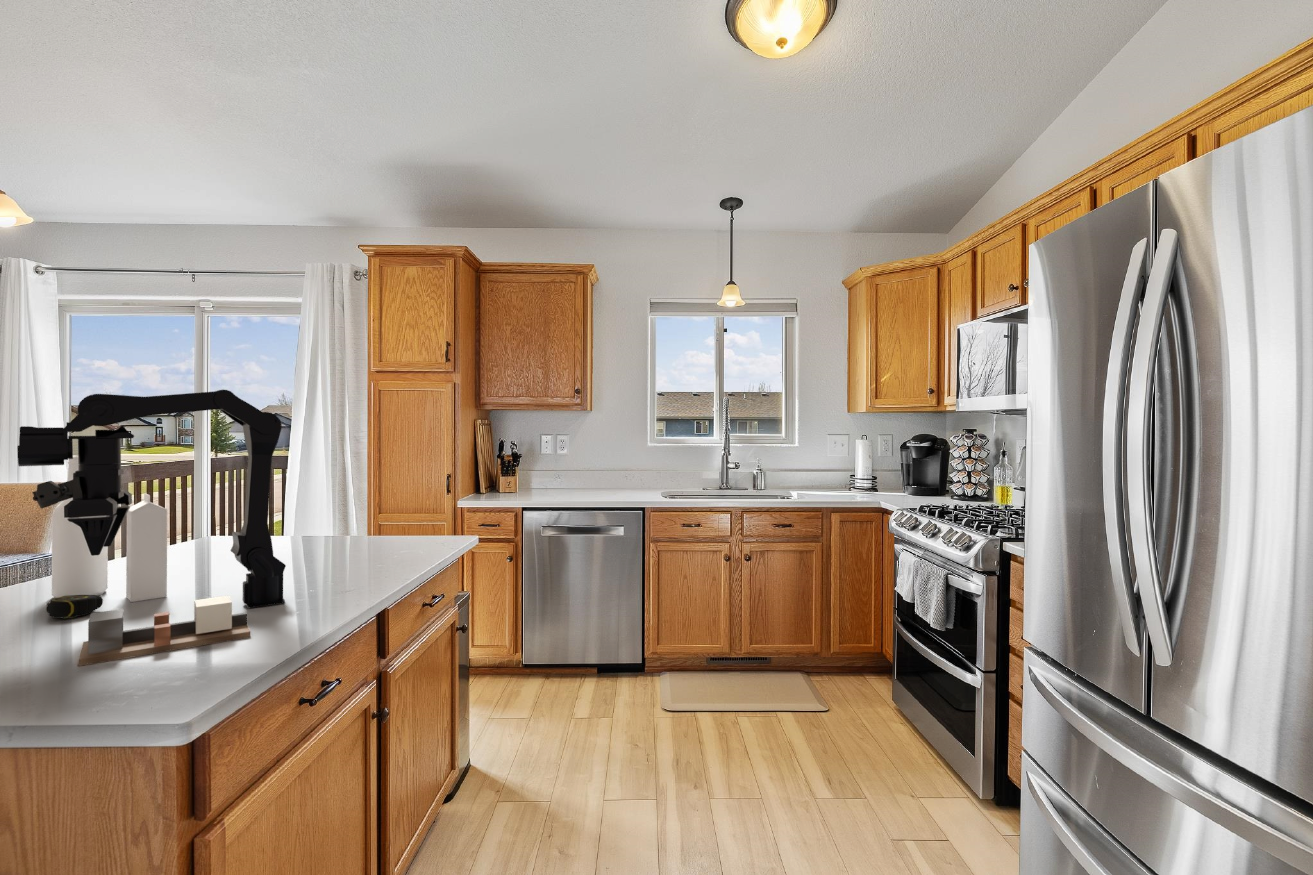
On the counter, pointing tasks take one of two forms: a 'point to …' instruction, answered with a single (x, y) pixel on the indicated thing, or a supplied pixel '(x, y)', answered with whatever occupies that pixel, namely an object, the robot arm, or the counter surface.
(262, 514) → the robot arm
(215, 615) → the sleeve
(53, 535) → the alcohol
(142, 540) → the milk
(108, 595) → the counter surface
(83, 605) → the tape measure
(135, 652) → the board
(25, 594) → the counter surface
